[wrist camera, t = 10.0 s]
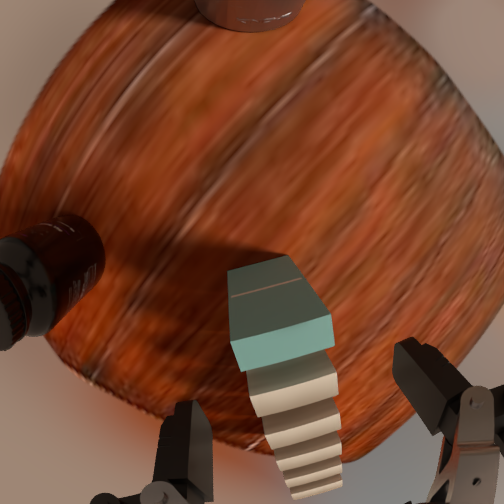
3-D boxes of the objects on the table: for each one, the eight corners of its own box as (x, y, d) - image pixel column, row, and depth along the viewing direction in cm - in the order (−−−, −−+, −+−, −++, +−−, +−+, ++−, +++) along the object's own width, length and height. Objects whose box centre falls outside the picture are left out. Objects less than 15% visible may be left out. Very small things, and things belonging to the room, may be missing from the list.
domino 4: (260, 379, 26) (276, 461, 17) (309, 366, 26) (341, 442, 17) (264, 392, 27) (280, 471, 17) (311, 379, 27) (341, 454, 17)
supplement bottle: (83, 198, 20) (-19, 228, 8) (121, 269, 22) (50, 351, 10) (34, 237, 20) (-57, 283, 9) (69, 300, 22) (-2, 376, 11)
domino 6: (275, 424, 28) (291, 494, 19) (317, 413, 28) (342, 479, 19) (278, 433, 29) (293, 500, 19) (318, 422, 29) (342, 486, 20)
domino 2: (239, 313, 24) (249, 396, 14) (296, 298, 24) (336, 372, 14) (245, 332, 24) (257, 417, 15) (300, 317, 24) (338, 394, 15)
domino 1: (227, 270, 23) (230, 341, 13) (287, 254, 23) (330, 313, 13) (233, 293, 23) (241, 371, 14) (292, 277, 23) (334, 345, 14)
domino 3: (250, 350, 25) (264, 435, 15) (303, 335, 25) (339, 412, 15) (256, 366, 26) (271, 449, 16) (306, 351, 26) (341, 428, 16)
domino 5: (268, 404, 27) (284, 480, 18) (313, 392, 27) (342, 463, 18) (272, 415, 28) (288, 487, 18) (315, 403, 28) (342, 472, 18)
